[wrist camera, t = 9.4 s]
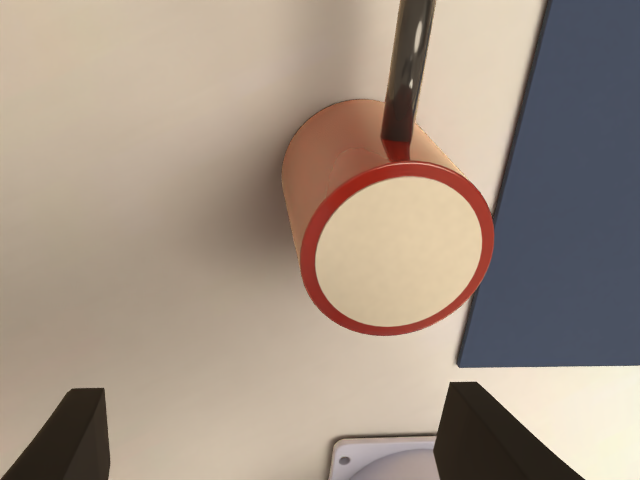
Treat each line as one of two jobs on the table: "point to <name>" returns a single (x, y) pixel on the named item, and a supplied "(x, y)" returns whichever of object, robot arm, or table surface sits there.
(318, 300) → the pot
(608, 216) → the cloth
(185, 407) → the table surface
